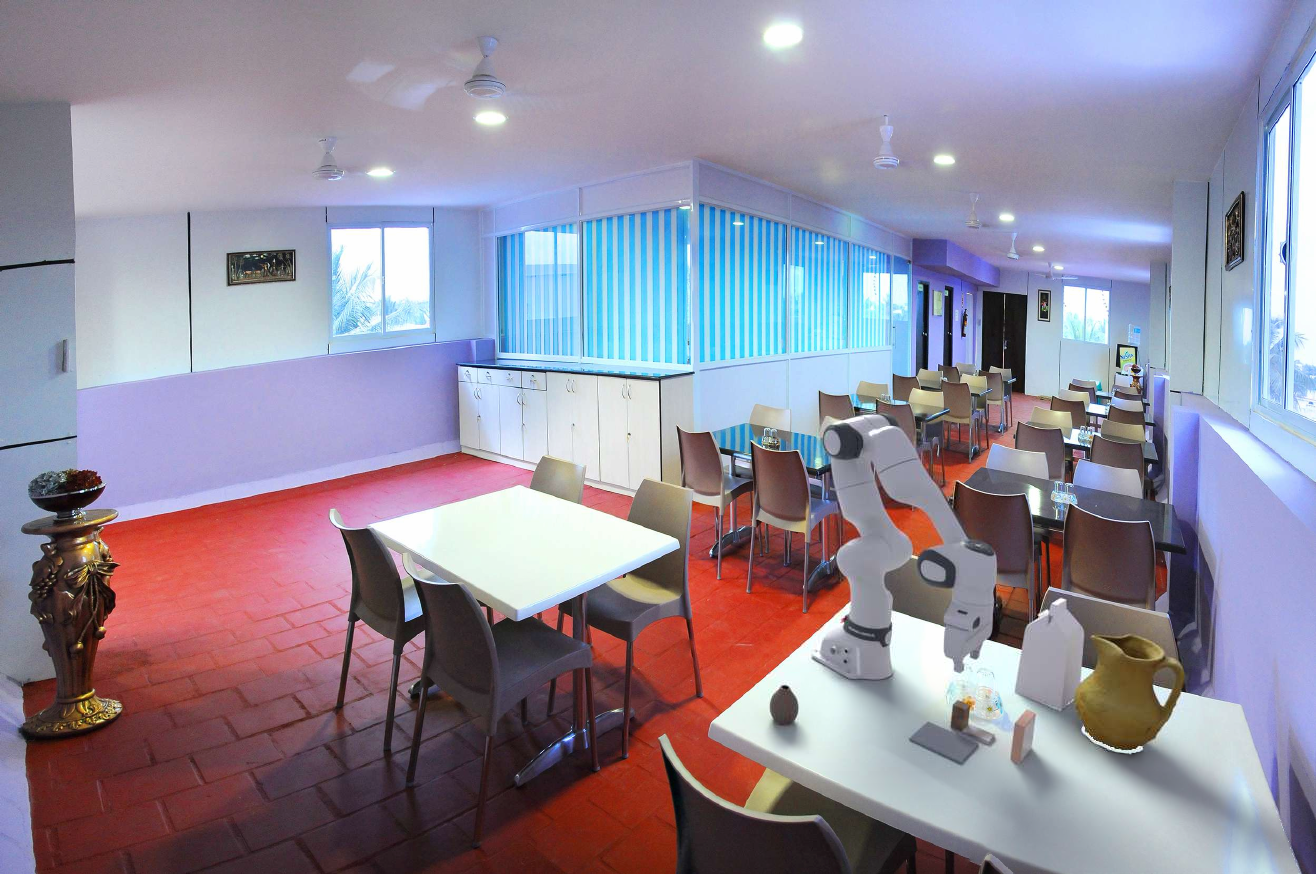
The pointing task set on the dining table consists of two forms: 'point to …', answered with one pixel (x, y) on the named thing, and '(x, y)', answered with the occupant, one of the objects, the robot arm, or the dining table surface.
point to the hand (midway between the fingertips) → (966, 664)
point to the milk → (1051, 657)
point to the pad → (944, 742)
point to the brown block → (961, 723)
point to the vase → (784, 705)
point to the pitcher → (1126, 692)
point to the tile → (1023, 736)
